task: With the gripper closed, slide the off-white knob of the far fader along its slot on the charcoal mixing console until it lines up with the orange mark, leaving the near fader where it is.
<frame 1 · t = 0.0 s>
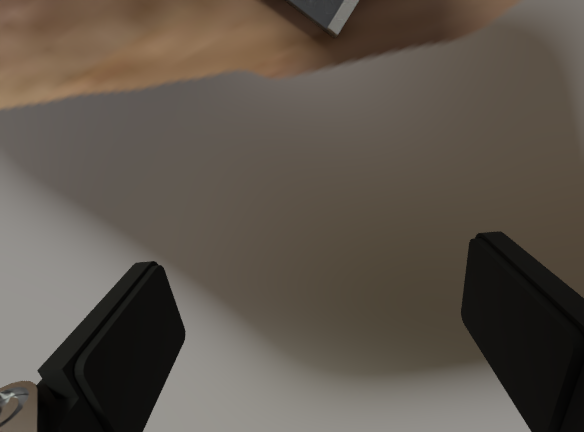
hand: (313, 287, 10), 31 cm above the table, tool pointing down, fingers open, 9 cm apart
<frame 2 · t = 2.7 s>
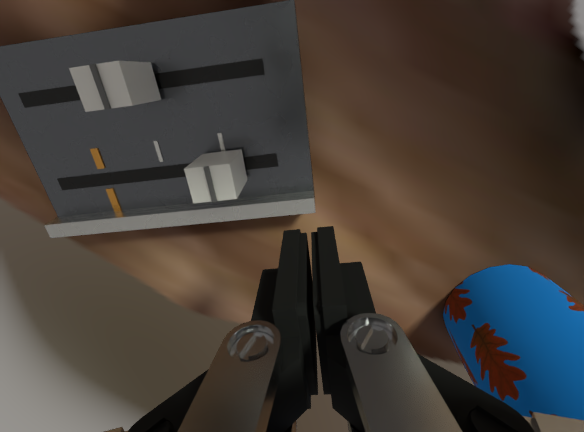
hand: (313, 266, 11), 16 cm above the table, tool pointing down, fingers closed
thermos: (495, 306, 32), on the table
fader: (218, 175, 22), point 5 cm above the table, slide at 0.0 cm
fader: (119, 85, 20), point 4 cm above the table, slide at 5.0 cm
console: (170, 128, 25), on the table
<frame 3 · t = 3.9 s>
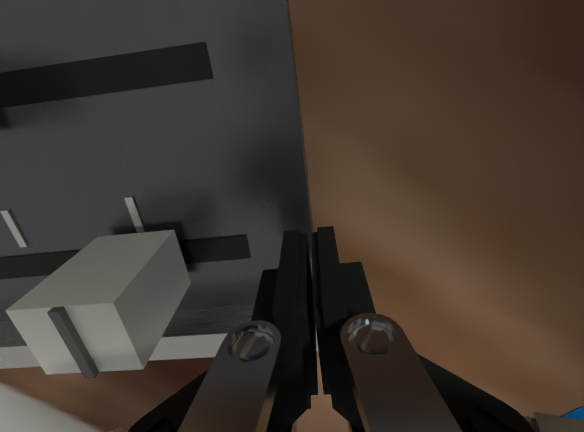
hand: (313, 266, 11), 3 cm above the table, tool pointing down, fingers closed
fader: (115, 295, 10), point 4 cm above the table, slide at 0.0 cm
console: (50, 179, 14), on the table
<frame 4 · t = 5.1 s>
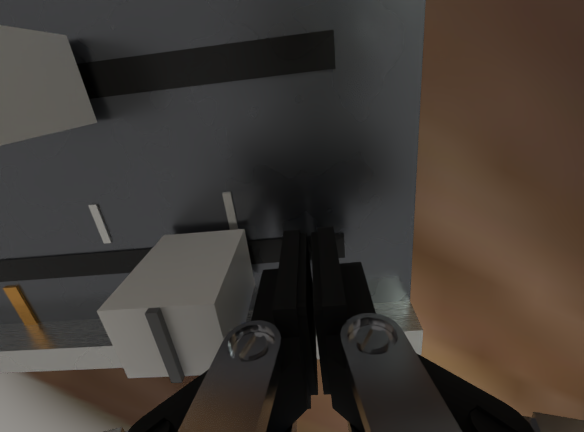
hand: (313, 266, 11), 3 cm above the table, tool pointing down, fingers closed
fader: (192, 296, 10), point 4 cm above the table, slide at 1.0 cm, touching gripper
console: (130, 173, 13), on the table
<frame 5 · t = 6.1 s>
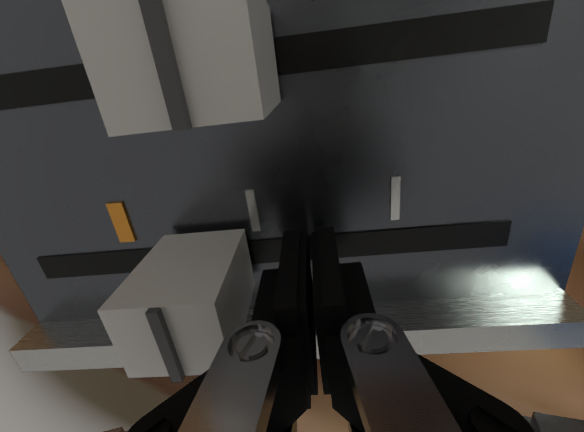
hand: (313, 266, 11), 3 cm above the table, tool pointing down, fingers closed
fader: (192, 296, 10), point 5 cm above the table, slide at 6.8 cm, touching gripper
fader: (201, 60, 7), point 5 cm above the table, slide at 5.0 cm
console: (268, 159, 13), on the table
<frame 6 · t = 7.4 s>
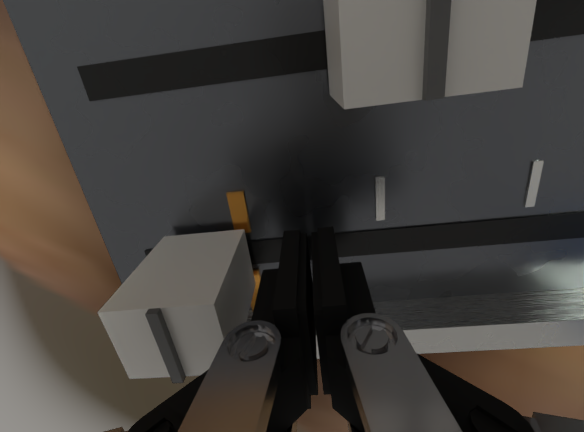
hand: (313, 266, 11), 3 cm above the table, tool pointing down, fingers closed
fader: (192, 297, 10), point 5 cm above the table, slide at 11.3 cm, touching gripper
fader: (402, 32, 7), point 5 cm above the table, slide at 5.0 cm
console: (381, 147, 12), on the table
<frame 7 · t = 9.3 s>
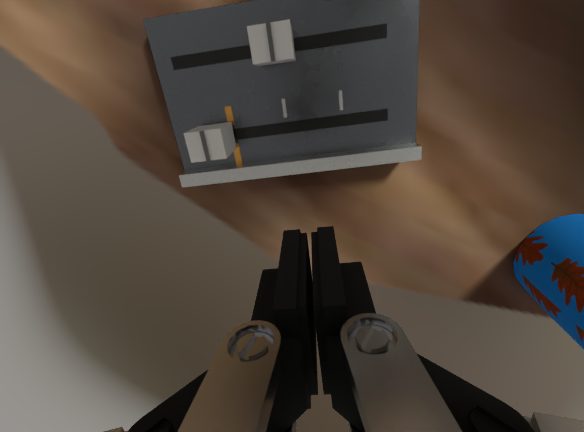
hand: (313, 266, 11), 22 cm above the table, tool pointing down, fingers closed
thermos: (561, 255, 35), on the table
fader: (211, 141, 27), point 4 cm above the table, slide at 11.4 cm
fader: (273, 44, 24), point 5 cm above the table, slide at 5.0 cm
console: (289, 90, 29), on the table
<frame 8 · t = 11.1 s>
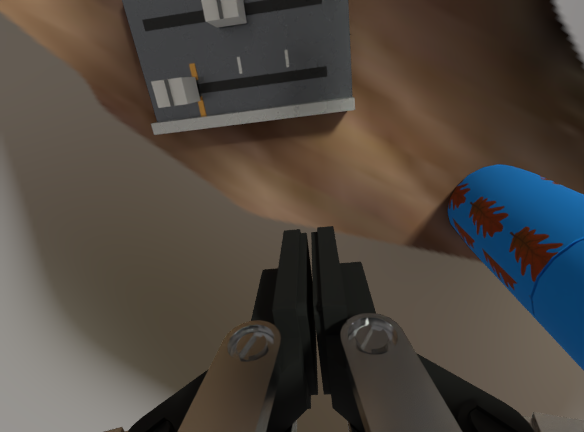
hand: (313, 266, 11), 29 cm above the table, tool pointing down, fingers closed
thermos: (489, 203, 40), on the table
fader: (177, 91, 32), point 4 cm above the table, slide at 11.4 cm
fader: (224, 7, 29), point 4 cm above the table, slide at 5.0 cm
console: (245, 52, 34), on the table
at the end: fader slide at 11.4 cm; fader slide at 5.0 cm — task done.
